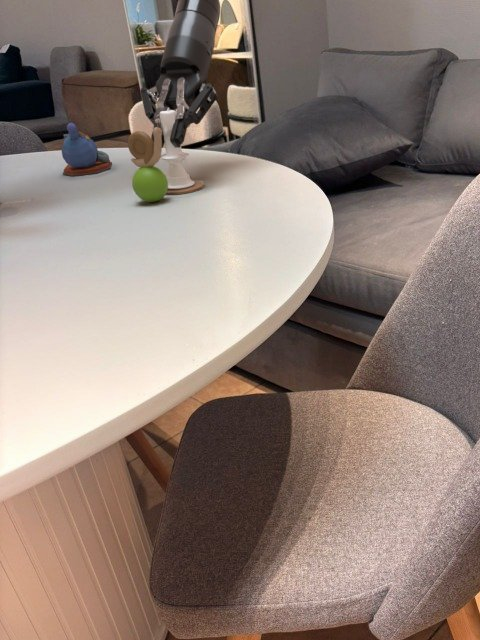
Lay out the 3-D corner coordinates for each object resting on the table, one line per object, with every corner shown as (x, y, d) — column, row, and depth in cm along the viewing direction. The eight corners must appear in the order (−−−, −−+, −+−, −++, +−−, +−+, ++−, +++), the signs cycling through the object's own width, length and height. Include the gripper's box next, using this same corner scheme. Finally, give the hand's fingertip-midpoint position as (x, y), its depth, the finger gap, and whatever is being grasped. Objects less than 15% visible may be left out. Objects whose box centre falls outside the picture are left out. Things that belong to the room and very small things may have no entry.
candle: (201, 183, 107) (191, 105, 100) (176, 191, 104) (164, 111, 97) (181, 179, 110) (169, 104, 104) (156, 186, 107) (143, 109, 100)
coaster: (152, 196, 104) (152, 194, 103) (161, 185, 110) (160, 182, 110) (201, 192, 103) (200, 190, 103) (207, 181, 110) (206, 178, 110)
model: (108, 172, 124) (97, 120, 119) (60, 178, 123) (46, 126, 118) (113, 160, 134) (103, 113, 129) (69, 166, 133) (56, 118, 128)
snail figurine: (165, 206, 97) (149, 122, 91) (129, 206, 99) (111, 123, 93) (182, 197, 102) (168, 115, 95) (147, 196, 104) (131, 117, 97)
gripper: (140, 36, 103) (115, 131, 100) (217, 29, 99) (194, 129, 96) (163, 69, 110) (141, 159, 107) (236, 64, 106) (215, 158, 103)
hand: (166, 144), depth 101 cm, fingers closed on candle, 2 cm apart
